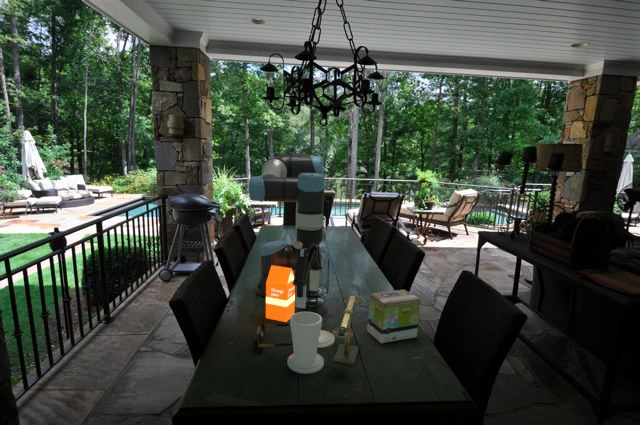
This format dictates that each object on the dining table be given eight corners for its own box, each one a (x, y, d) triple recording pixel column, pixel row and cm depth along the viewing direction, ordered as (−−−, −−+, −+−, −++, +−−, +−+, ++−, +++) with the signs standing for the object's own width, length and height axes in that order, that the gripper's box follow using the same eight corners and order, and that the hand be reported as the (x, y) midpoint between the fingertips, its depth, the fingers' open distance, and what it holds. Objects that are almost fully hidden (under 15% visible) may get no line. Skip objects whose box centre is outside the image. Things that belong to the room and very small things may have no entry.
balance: (343, 338, 125) (345, 291, 123) (360, 340, 124) (363, 293, 121) (329, 373, 105) (331, 317, 102) (349, 376, 103) (352, 320, 101)
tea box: (382, 345, 122) (384, 303, 119) (366, 331, 131) (368, 292, 129) (418, 337, 128) (421, 297, 125) (400, 325, 137) (403, 287, 135)
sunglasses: (303, 354, 115) (304, 339, 114) (255, 355, 113) (255, 340, 113) (301, 333, 129) (302, 319, 128) (258, 333, 127) (258, 320, 126)
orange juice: (286, 322, 136) (287, 271, 133) (265, 318, 139) (266, 267, 136) (294, 314, 143) (296, 265, 140) (274, 310, 146) (275, 262, 143)
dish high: (298, 344, 120) (298, 341, 120) (307, 329, 130) (307, 326, 130) (330, 350, 117) (330, 346, 117) (337, 334, 128) (337, 331, 127)
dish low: (282, 369, 105) (282, 365, 105) (294, 350, 116) (294, 347, 116) (318, 376, 103) (318, 372, 103) (327, 356, 113) (327, 353, 113)
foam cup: (316, 369, 104) (318, 327, 102) (285, 365, 106) (286, 323, 104) (322, 352, 113) (324, 313, 111) (294, 348, 115) (295, 309, 113)
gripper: (310, 237, 90) (307, 317, 94) (332, 221, 114) (329, 285, 117) (281, 235, 92) (280, 313, 95) (309, 219, 116) (307, 282, 119)
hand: (307, 298), depth 106 cm, fingers open, 13 cm apart
